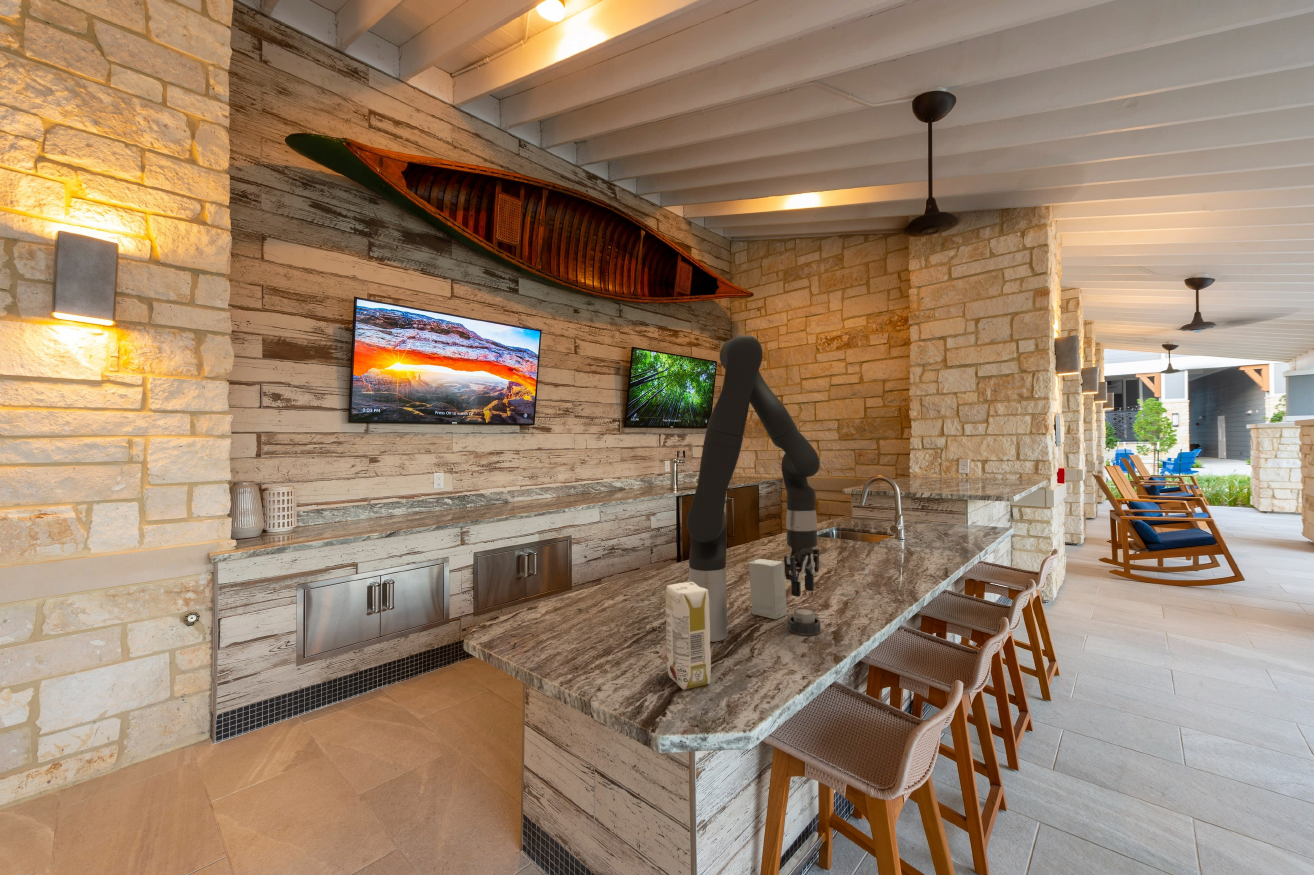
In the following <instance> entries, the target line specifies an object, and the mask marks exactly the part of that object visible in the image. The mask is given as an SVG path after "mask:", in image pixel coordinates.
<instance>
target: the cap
mask: <svg viewBox="0 0 1314 875" xmlns="http://www.w3.org/2000/svg"><path fill="white" fill-rule="evenodd" d="M815 614H816V612H815V611H814V610H811V609H808V608H799V609H798V608H796V609H795V610H793V616H794V623H797V624H803V625H811V624H815V617H816V615H815Z"/></svg>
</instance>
